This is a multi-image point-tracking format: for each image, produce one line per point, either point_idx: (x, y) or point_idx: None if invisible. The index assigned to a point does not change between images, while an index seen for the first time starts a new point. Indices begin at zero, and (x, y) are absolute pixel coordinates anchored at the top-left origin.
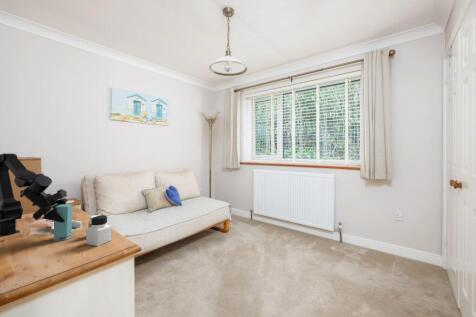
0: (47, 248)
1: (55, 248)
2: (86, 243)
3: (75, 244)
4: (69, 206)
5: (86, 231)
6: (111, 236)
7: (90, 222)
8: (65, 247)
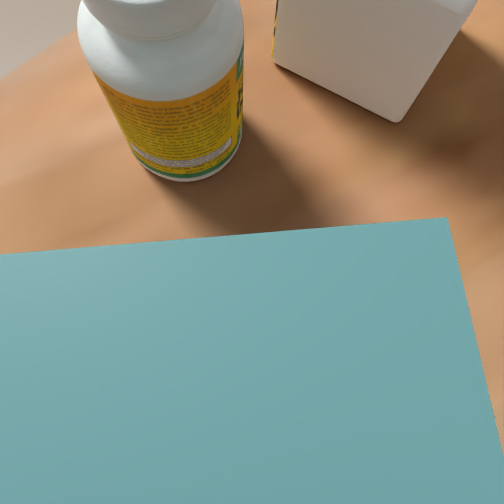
0: (497, 418)
1: (494, 338)
2: (402, 117)
3: (403, 207)
4: (230, 243)
5: (455, 34)
6: None
7: (228, 42)
8: (470, 259)
